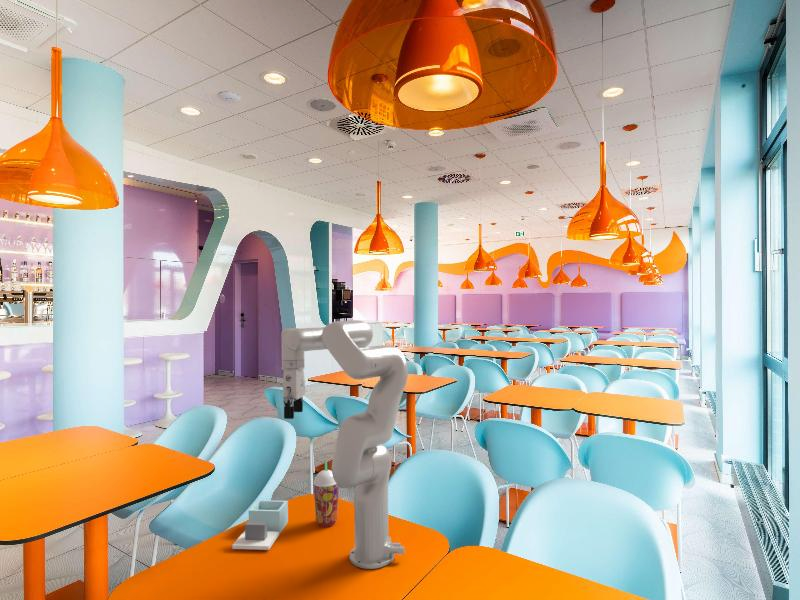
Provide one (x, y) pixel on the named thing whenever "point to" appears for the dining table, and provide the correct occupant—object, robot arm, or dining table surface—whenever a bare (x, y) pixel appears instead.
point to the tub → (270, 514)
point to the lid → (256, 537)
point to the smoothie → (325, 498)
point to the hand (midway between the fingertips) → (293, 415)
